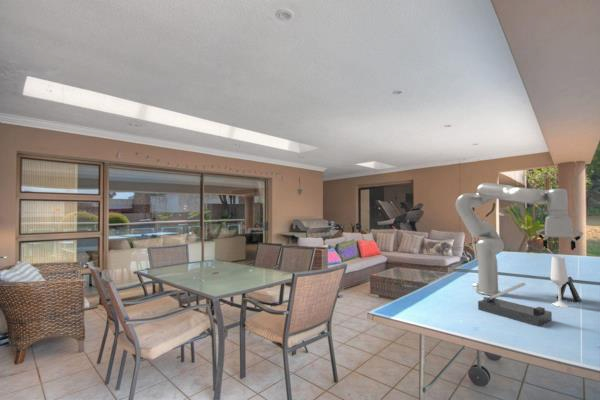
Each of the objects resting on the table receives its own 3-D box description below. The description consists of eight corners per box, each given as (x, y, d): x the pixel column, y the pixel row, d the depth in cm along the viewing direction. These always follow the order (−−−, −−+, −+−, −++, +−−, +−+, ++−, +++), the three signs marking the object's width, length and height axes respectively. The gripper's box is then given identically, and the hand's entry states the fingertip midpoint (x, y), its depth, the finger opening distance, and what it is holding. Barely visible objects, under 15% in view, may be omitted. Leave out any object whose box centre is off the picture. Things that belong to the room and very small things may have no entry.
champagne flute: (572, 307, 142) (570, 258, 143) (556, 306, 144) (554, 257, 145) (563, 303, 149) (561, 256, 150) (548, 302, 150) (546, 255, 151)
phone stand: (581, 300, 154) (580, 277, 155) (579, 302, 150) (578, 279, 151) (558, 296, 161) (557, 274, 162) (556, 298, 157) (555, 276, 158)
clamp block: (478, 309, 139) (477, 297, 140) (492, 305, 145) (491, 294, 145) (538, 326, 118) (537, 312, 119) (551, 321, 124) (551, 307, 125)
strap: (487, 300, 140) (485, 298, 140) (491, 299, 142) (490, 297, 142) (521, 285, 127) (520, 283, 128) (526, 284, 129) (524, 282, 130)
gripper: (535, 213, 145) (536, 248, 144) (583, 214, 135) (585, 251, 134) (534, 213, 151) (535, 247, 150) (580, 214, 141) (581, 249, 140)
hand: (559, 249), depth 142 cm, fingers open, 9 cm apart
